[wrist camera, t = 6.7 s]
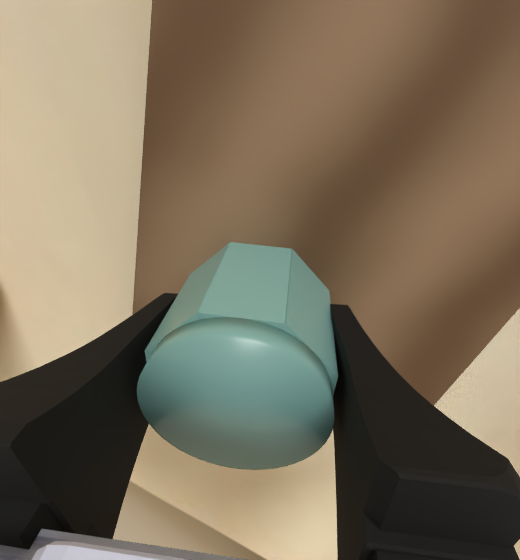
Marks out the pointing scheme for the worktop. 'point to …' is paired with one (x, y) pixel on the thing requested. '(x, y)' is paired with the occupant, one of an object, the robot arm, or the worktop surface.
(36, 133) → the worktop surface
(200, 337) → the cap
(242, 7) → the stud board
